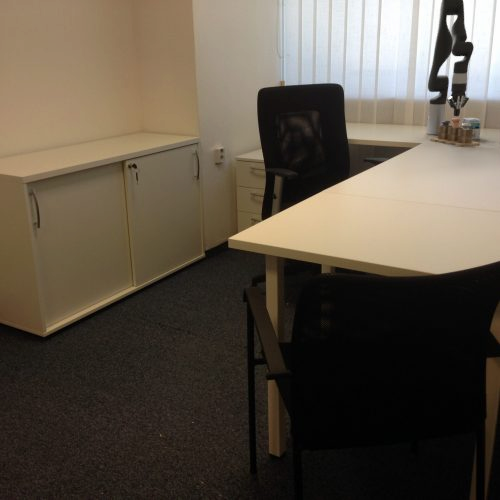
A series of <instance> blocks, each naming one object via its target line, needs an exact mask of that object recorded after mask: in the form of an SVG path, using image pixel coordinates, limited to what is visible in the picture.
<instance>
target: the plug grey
mask: <svg viewBox="0 0 500 500" xmlns="http://www.w3.org/2000/svg"><path fill="white" fill-rule="evenodd" d="M470 126H471V124H468V123H464V124H463V123H461V127H462V128H463V130H469V127H470Z"/></svg>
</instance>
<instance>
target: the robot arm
mask: <svg viewBox="0 0 500 500" xmlns="http://www.w3.org/2000/svg"><path fill="white" fill-rule="evenodd" d="M448 16H456V19H455V20H454V22H453V24H452V26H451V27H450V28H451V30H450V29H449V26H448V23H447V21H448V20H447V17H448ZM438 18H439V19H438V28H437V32H436V33H437V34H436V38H435V43H434V50H433V51H434V52H433V59H432V65H431V67H430V72H429V75H428V82H427V90H428V91H429V92H430V93H438V94H437V95H436V96H433V97H431V98H430V99H429V108H428V117H427V121H426V122H427V123H426V134H427V135H437V136H438V130H439V126H441V125H443V123H442V121H443V120H446V109H447V108H446V107H447V103H448V105H449V106H450V108H452V109H453V116H454V117H459V116H460V113H461V109H462V108H464V107H465V106H466V104H467V102H468V101H469V100H470V98H469V97H467V95H466V92H467V86H468V71H469V63H470V61H471V57H472V55H473V52H474V47H475V45H474V43H473V42H472V41H467V39H468V35H467V30H466V26H465V3H464V0H441V2H440V8H439V17H438ZM451 54H452V56H454V57H463V58H462V59H461V60H458V61H455V62H454V63H453V72H452V77H451V91H450V92H451V94H450V97H449V98H448V94H449V93H448V92H449V84H450V79H449V76H448V75H447V74H442V75H440V74H439V72H440V69H441V67H442V66H443V65H444V63H445V62H446V61H447V60H448V58H449V57H450V55H451Z"/></svg>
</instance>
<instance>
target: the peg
mask: <svg viewBox="0 0 500 500" xmlns="http://www.w3.org/2000/svg"><path fill="white" fill-rule="evenodd" d="M442 123H443V126H449V124H450V123H451V120H446V119H445V120H443V121H442Z"/></svg>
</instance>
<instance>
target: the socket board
mask: <svg viewBox="0 0 500 500" xmlns="http://www.w3.org/2000/svg"><path fill="white" fill-rule="evenodd" d="M472 137H473V129H469V130H463V127H462V126H459V128H453V125H449V126H443V125H441V126H439V130H438V135H437V137H433V138H430V139H429V140H430V141H431V140H432V142H437V143H441V142H442V144H445V143H446V145H450V144H451V145H452V146H457V147H461V148H463V147H471V146H480V145H481V143H480V142H477V141H473V140H472Z"/></svg>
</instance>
